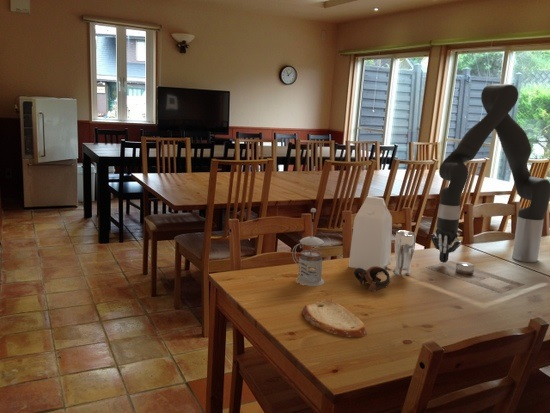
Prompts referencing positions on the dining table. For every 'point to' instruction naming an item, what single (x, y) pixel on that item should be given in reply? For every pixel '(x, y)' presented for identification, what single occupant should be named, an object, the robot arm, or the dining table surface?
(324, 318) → the bread slice
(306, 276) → the french press
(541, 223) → the robot arm
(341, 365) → the dining table surface
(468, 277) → the grey flat slab
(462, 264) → the glossy grey dome
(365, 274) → the dark brown twisted loop
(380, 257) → the milk
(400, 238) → the beer glass
